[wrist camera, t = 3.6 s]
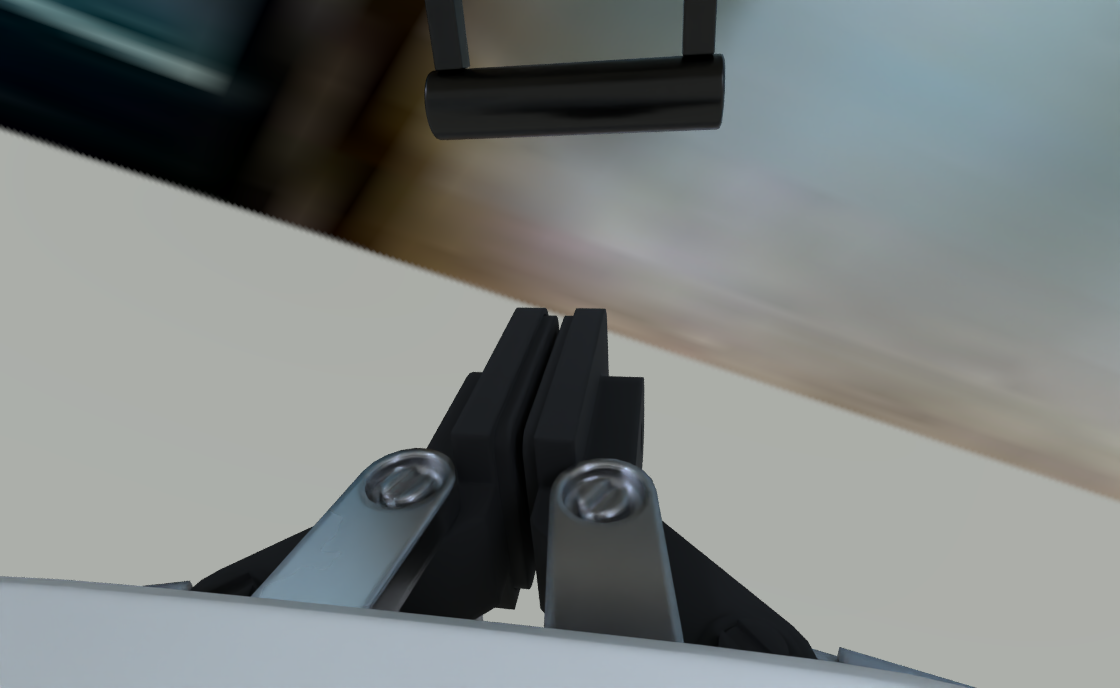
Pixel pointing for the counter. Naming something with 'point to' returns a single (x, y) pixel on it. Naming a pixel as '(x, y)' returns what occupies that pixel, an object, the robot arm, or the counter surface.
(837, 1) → the counter surface
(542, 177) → the counter surface
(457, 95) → the drawer
